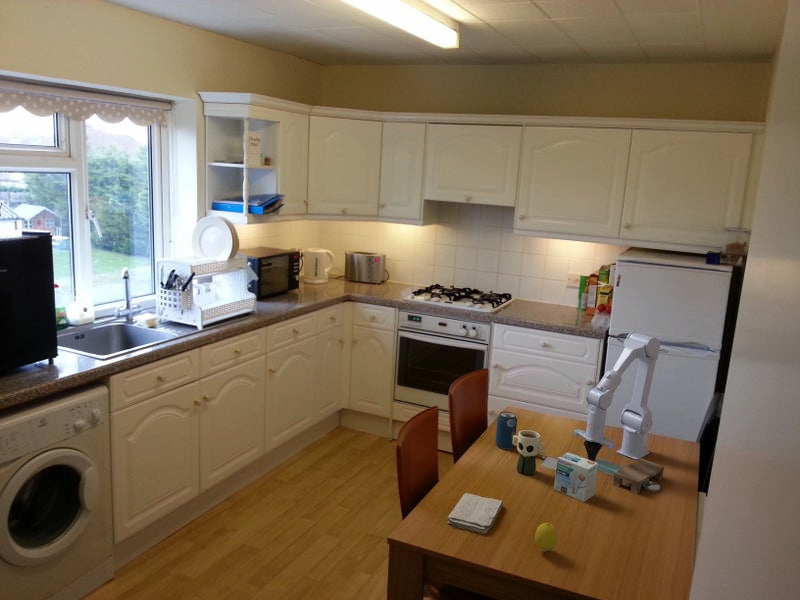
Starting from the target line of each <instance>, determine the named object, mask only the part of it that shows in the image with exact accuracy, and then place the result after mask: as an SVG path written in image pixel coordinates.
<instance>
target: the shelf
mask: <svg viewBox="0 0 800 600" xmlns="http://www.w3.org/2000/svg"><path fill="white" fill-rule="evenodd" d="M623 467H624V466H623ZM664 470H665V466H663V465H661V464H658V463H655V462H652V461H650V460H647V459H645V458H643V457H642V458H640V459H638V460H635V461H633V462H632V463H630V464H628V465H626V466H625V467H624V468H623V469H621V470H619V471H617V472H615V473H614V476H613V480H612V485H613V486H616V487H618V488H619V487H622V486H623V481H624V480H626V481H625V482H627V481H628V483H630V482H631V483H630V484H631V486H630V493H633V494H636V495H638V494H639V493H640V491H641V487H642V486H641V483H643V482H644V481H646V480H647V479H649V480H650V479H651V478H654V479H656V478H657V480H662V479H663V477H664Z"/></svg>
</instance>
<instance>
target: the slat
mask: <svg viewBox="0 0 800 600" xmlns="http://www.w3.org/2000/svg"><path fill="white" fill-rule="evenodd" d="M593 462H596V463H598V468H597V471H600V472H602V473H605V474H607V475H609V476H612V477H614V473H615V472H617V471H619V470H621V469H623V468H624V466H622V465H619V464H615V463H614V462H611V461H608V460H605V459H603V458H600V457H598V458H595V460H594V461H593ZM623 481H625V482H628V481H626V480H623ZM646 481H650V478H649V479H647V480H646ZM628 483H630V484H632V483H631V482H628ZM641 487H643V483H641Z"/></svg>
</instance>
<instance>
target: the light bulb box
mask: <svg viewBox="0 0 800 600" xmlns="http://www.w3.org/2000/svg"><path fill="white" fill-rule="evenodd" d="M556 460H557V467H556V470H555V476H554V485H553V490H554V491H557V492H559V493H562V494H564V495H567V496H569V497H570V498H573V499H576V500H578V501H580V502H583V503H585V502H586V501H588V500H589V499H591V498H592V497H594V496H595V491H596V490H595V489H596V483H597V476H598V470H597V468H598V463H596V462H593V461H591V460H588V458H584V457H582V456H579V455H577V454H574V453H572V452H571V453H570V452H565V453H564V454H562V455H561V456H559V457H557V458H556Z"/></svg>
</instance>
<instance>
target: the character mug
mask: <svg viewBox="0 0 800 600" xmlns="http://www.w3.org/2000/svg"><path fill="white" fill-rule="evenodd" d="M516 439H517V440H516ZM516 441H517V442H516ZM513 445H514V446H516V450H517V452H518V453H519V455H518V460H517V463H516V467H515V468H516V471H518V472H519V473H522V471H523V474H526V475H532V474H534V473H536V470H537V469H536V467H537V463H536V461H537V458H535V455H537V454H539V453H542V454H543V453H545V449H546V443H544V442H542V441H541V434H540V433H538V432H537V431H534V430H530V429H524V430H519V431H518V435H516V436H513ZM540 447H541V448H540Z"/></svg>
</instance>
